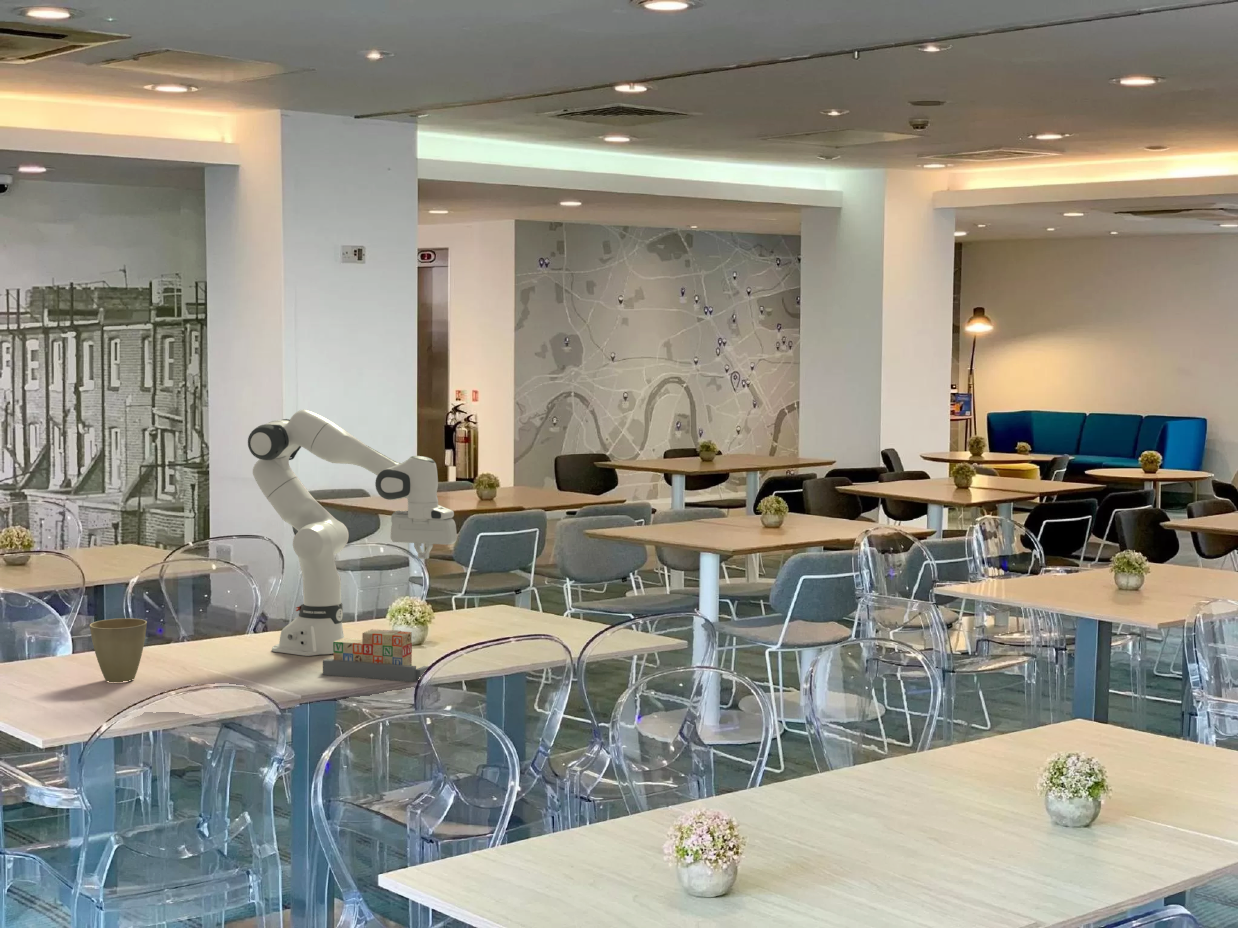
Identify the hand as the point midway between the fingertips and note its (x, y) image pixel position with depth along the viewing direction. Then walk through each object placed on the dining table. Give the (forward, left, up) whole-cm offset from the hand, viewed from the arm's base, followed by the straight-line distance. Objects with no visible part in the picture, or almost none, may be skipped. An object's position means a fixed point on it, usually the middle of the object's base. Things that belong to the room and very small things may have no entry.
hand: (423, 558), depth 452 cm
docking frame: (-1, -28, -29) cm, 41 cm away
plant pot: (-63, -58, -29) cm, 91 cm away
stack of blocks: (-2, -27, -30) cm, 40 cm away
